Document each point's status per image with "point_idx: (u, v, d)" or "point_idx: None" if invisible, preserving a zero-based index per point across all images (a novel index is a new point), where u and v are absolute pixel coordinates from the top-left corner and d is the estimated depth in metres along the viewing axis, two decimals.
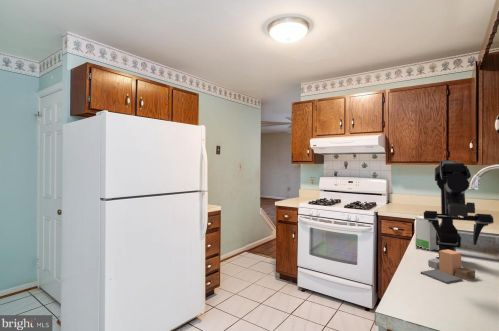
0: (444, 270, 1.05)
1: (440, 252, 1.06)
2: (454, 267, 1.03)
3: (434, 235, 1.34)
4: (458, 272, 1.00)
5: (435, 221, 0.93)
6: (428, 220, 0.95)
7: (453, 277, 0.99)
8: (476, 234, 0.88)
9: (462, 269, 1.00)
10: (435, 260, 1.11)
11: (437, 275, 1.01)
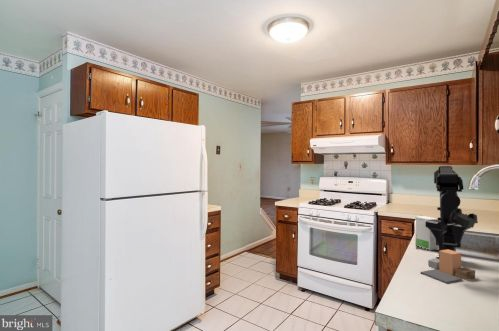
0: (444, 270, 1.05)
1: (440, 252, 1.06)
2: (454, 267, 1.03)
3: None
4: (458, 272, 1.00)
5: (445, 231, 1.01)
6: (440, 231, 1.01)
7: (453, 277, 0.99)
8: (461, 236, 1.06)
9: (462, 269, 1.00)
10: (435, 260, 1.11)
11: (437, 275, 1.01)
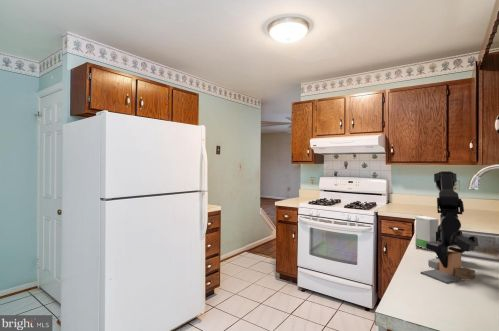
0: (444, 270, 1.05)
1: None
2: (454, 267, 1.03)
3: (434, 235, 1.34)
4: (458, 272, 1.00)
5: (449, 253, 1.02)
6: (444, 253, 1.01)
7: (453, 277, 0.99)
8: None
9: (462, 269, 1.00)
10: (435, 260, 1.11)
11: (437, 275, 1.01)
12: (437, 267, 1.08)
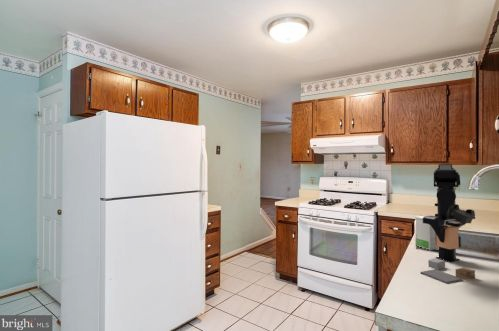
0: (441, 245, 1.04)
1: None
2: (452, 241, 1.01)
3: (434, 235, 1.34)
4: (458, 272, 1.00)
5: (446, 227, 1.00)
6: (441, 226, 1.00)
7: (453, 277, 0.99)
8: None
9: (462, 269, 1.00)
10: (435, 260, 1.11)
11: (437, 275, 1.01)
12: (437, 267, 1.08)
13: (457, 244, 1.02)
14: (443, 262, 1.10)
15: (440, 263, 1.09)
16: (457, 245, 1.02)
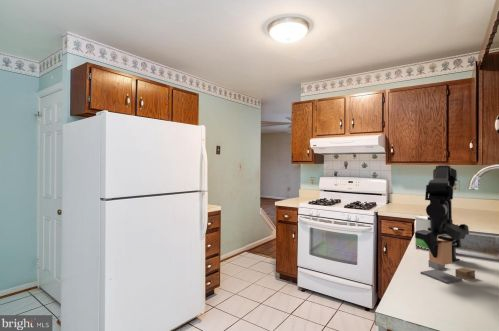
0: (434, 260, 1.01)
1: None
2: (445, 257, 0.98)
3: None
4: (458, 272, 1.00)
5: (438, 242, 0.97)
6: (433, 242, 0.97)
7: (453, 277, 0.99)
8: None
9: (462, 269, 1.00)
10: None
11: (437, 275, 1.01)
12: (437, 267, 1.08)
13: (450, 259, 0.99)
14: None
15: None
16: (451, 261, 0.99)
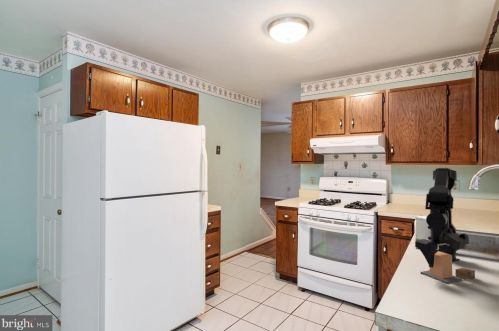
0: (434, 273, 1.01)
1: None
2: (445, 270, 0.98)
3: None
4: (458, 272, 1.00)
5: (435, 252, 0.97)
6: (429, 252, 0.96)
7: (453, 277, 0.99)
8: (452, 256, 1.01)
9: (462, 269, 1.00)
10: None
11: None
12: None
13: (451, 273, 0.99)
14: None
15: None
16: (451, 274, 0.99)
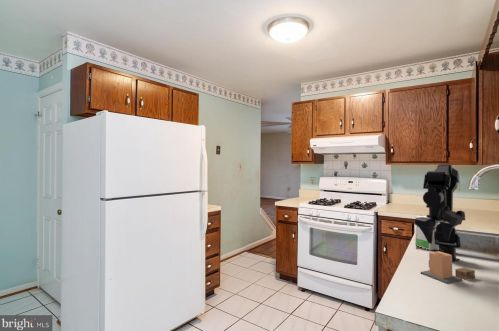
0: (434, 273, 1.01)
1: (430, 254, 1.02)
2: (445, 270, 0.98)
3: None
4: (458, 272, 1.00)
5: (433, 228, 1.02)
6: (428, 228, 1.02)
7: (453, 277, 0.99)
8: (450, 232, 1.07)
9: (462, 269, 1.00)
10: None
11: None
12: None
13: (451, 273, 0.99)
14: None
15: None
16: (451, 274, 0.99)
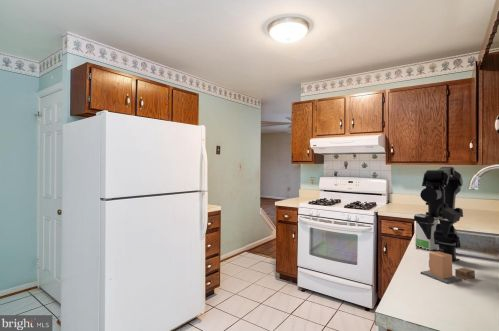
0: (434, 273, 1.01)
1: (430, 254, 1.02)
2: (445, 270, 0.98)
3: None
4: (458, 272, 1.00)
5: (432, 225, 1.06)
6: (427, 224, 1.06)
7: (453, 277, 0.99)
8: (448, 229, 1.11)
9: (462, 269, 1.00)
10: None
11: None
12: None
13: (451, 273, 0.99)
14: None
15: None
16: (451, 274, 0.99)
